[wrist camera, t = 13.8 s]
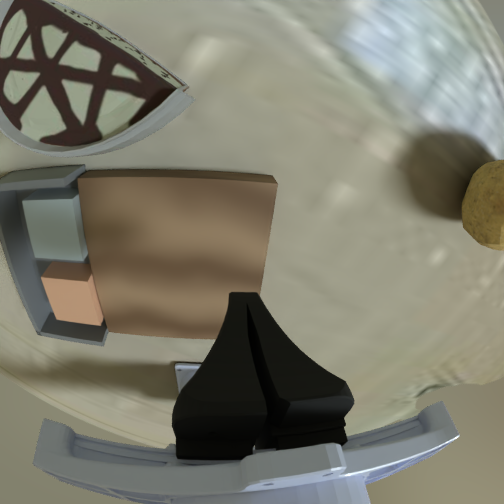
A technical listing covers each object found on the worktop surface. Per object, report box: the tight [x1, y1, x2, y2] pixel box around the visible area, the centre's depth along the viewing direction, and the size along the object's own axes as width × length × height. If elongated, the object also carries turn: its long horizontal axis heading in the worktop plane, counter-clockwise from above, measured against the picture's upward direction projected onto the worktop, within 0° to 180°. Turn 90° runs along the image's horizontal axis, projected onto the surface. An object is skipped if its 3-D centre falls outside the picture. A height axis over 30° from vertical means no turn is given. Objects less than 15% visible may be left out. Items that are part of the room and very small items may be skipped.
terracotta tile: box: [41, 261, 104, 326], centre depth 21 cm, size 5×5×2 cm
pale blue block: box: [22, 187, 88, 261], centre depth 18 cm, size 5×5×2 cm
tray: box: [0, 165, 108, 346], centre depth 20 cm, size 16×8×4 cm, turn 173°
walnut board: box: [77, 169, 278, 339], centre depth 22 cm, size 15×14×2 cm
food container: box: [0, 0, 196, 157], centre depth 11 cm, size 12×6×10 cm, turn 46°
